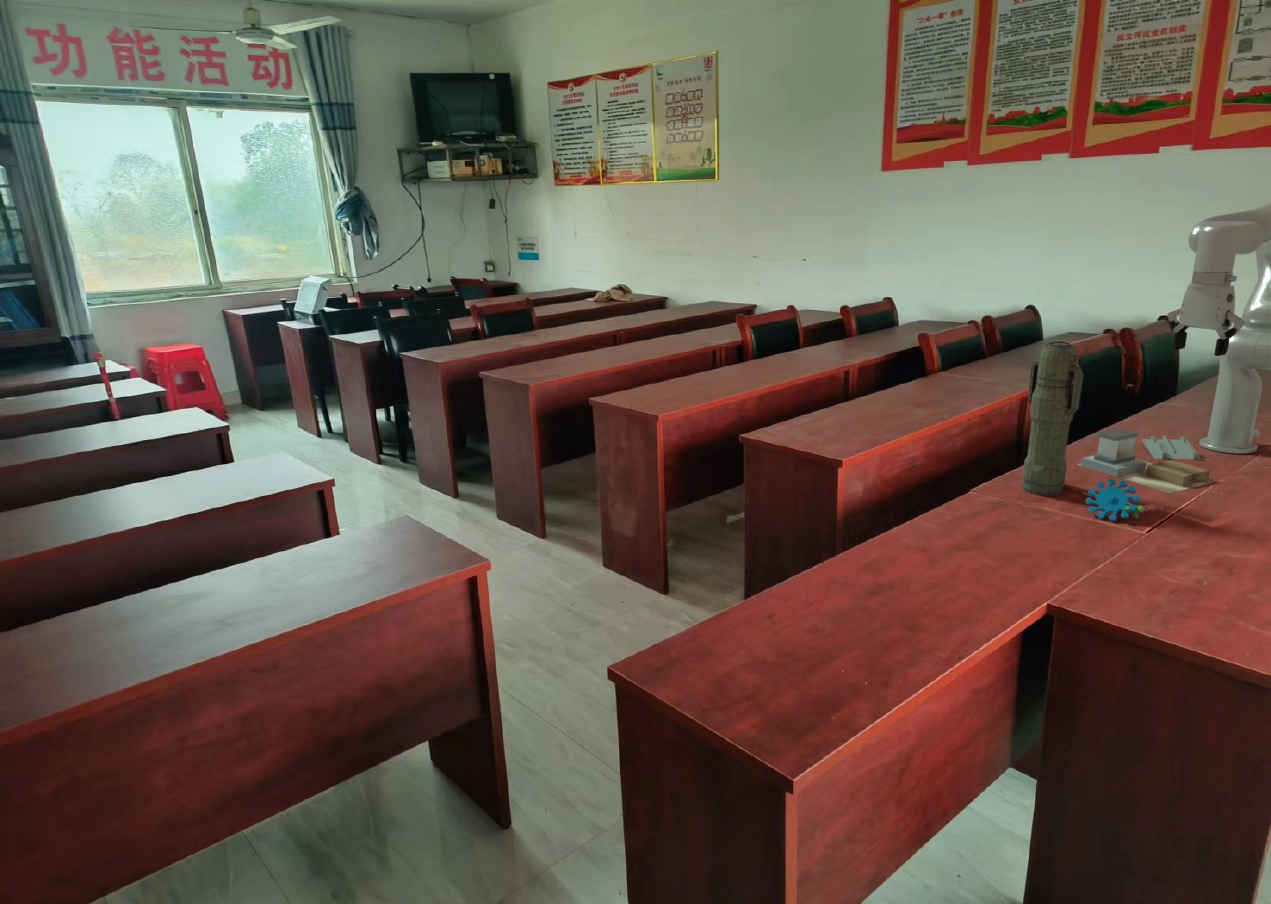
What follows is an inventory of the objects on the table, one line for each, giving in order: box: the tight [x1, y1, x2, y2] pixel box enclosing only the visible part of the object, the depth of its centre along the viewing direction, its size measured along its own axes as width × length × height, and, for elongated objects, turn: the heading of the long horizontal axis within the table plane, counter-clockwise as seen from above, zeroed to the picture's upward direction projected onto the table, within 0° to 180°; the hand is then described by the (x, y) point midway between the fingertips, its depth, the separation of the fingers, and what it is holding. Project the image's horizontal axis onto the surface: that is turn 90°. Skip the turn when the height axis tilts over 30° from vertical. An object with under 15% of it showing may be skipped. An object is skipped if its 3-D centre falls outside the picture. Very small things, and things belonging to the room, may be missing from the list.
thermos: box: [1021, 341, 1084, 497], centre depth 184 cm, size 9×12×35 cm
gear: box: [1085, 478, 1145, 522], centre depth 172 cm, size 11×6×10 cm
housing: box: [1093, 427, 1140, 465], centre depth 197 cm, size 8×5×7 cm, turn 113°
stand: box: [1145, 459, 1211, 487], centre depth 190 cm, size 9×9×2 cm
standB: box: [1080, 454, 1147, 478], centre depth 198 cm, size 10×10×2 cm
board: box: [1077, 458, 1216, 494], centre depth 195 cm, size 16×24×1 cm, turn 23°
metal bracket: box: [1141, 434, 1212, 461], centre depth 207 cm, size 14×6×15 cm
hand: (1199, 352), depth 190 cm, fingers open, 9 cm apart
